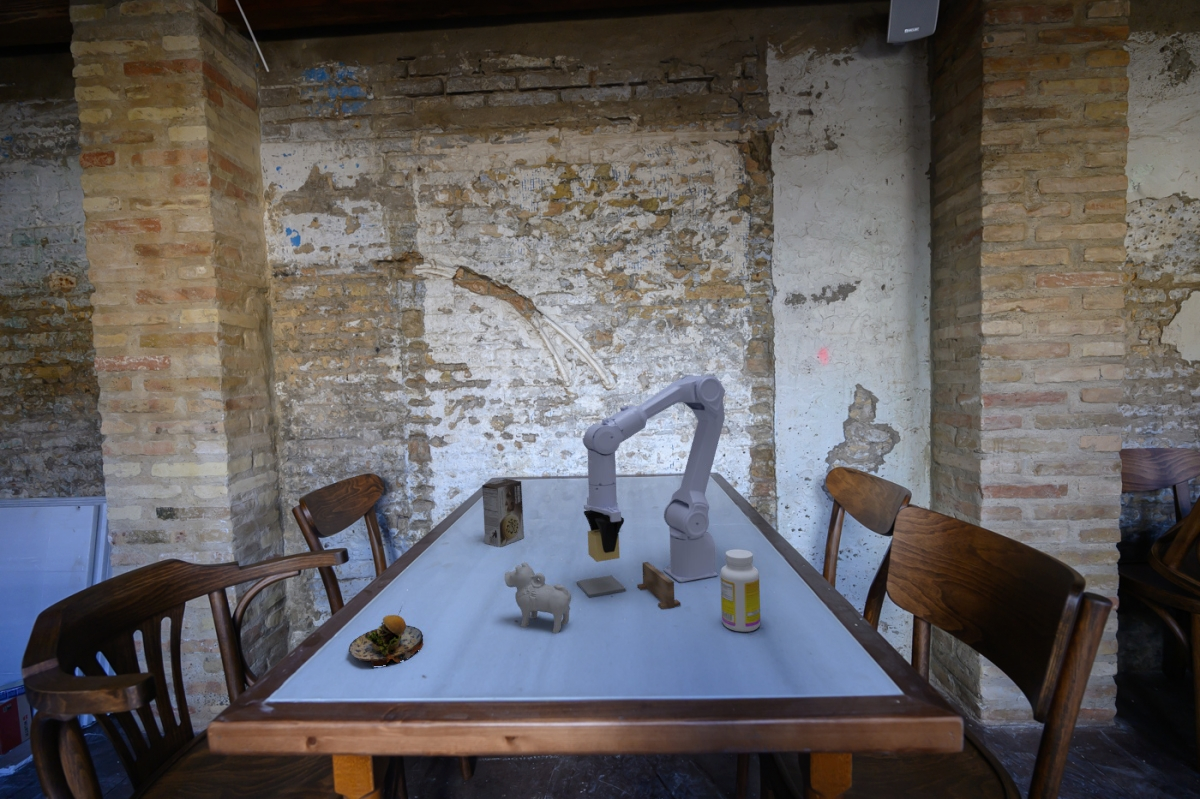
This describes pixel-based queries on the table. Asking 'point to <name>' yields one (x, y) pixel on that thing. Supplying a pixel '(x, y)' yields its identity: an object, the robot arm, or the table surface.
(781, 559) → the table surface
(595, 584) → the coaster
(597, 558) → the cube
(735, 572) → the supplement bottle
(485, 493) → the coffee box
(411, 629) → the burger
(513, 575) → the dog figurine
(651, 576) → the wooden board
